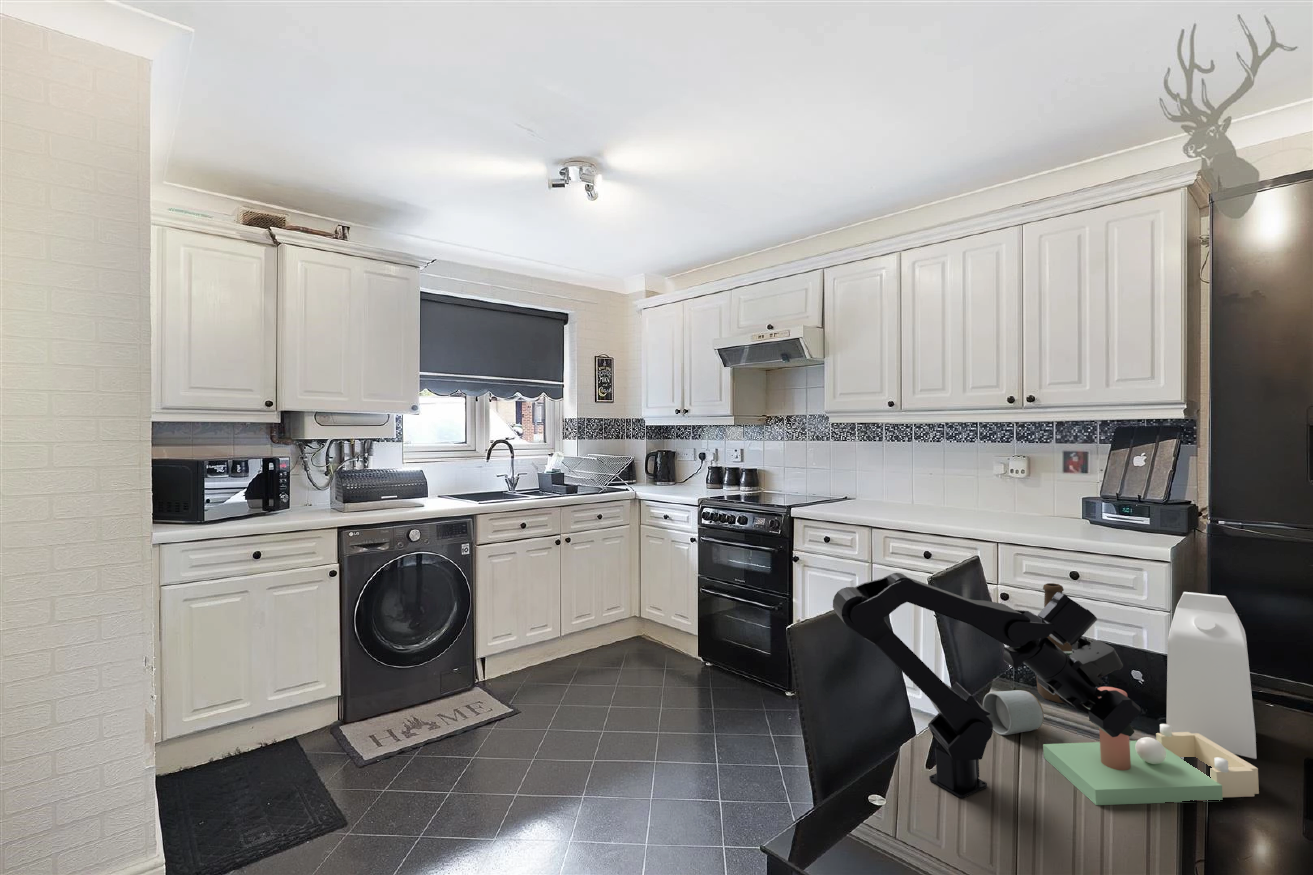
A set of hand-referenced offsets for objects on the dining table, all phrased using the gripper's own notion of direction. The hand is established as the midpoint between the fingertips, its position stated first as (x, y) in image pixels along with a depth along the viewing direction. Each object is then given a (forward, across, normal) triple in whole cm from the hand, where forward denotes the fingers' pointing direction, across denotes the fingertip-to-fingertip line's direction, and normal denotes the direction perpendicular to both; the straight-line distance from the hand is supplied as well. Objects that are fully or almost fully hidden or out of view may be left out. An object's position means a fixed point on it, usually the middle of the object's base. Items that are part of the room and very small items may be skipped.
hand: (1122, 727), depth 104 cm
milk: (+23, +12, -11) cm, 28 cm away
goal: (+15, 0, -3) cm, 15 cm away
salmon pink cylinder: (+3, 0, +5) cm, 6 cm away
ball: (+6, 0, 0) cm, 6 cm away
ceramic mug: (-1, +18, +13) cm, 23 cm away
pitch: (+6, 0, +6) cm, 8 cm away
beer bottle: (+11, +31, +1) cm, 33 cm away
